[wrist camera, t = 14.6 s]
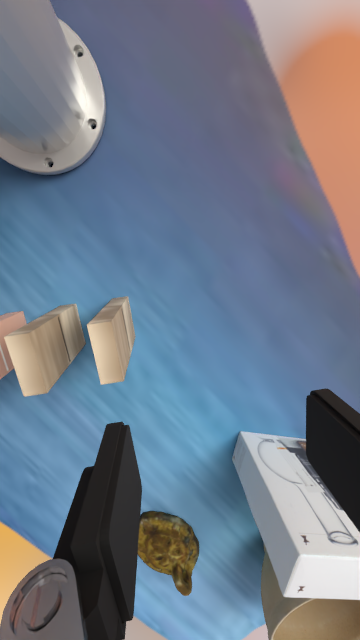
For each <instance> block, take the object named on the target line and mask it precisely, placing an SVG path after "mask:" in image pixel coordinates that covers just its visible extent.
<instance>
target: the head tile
mask: <svg viewBox="0 0 360 640" xmlns="http://www.w3.org/2000/svg"><path fill="white" fill-rule="evenodd" d="M87 328H88V332H89V336H90V340H91V344H92V349H93V353H94V357H95V361H96V365H97V370H98V374H99V378H100V382H101V385H102V384H109V383H115V382H121V381H124V378H125V374H126V371H127V367H128V363H129V359H130V355H131V351H132V348H133V344H134V340H135V332H134V327H133V321H132V316H131V310H130V305H129V300H128V296H127V297H120V298H113V299H111V301H110V302H109V303H108V304H107V305H106V306H105V307H104V308H103V309H102V310H101V311H100V312H99V313H98V314H97V315H96V316H95V317H94V318H93V319H92V320H91V321H90V322H89V323H88V324H87Z"/></svg>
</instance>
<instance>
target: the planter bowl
mask: <svg viewBox="0 0 360 640" xmlns="http://www.w3.org/2000/svg"><path fill="white" fill-rule="evenodd" d="M264 552H265V556H264V560H263V565H262V574H261V597H262V605H263V611H264V617H265V621H266V625H267V629H268V638H269V640H360V600H347V599H319V598H291V597H284V596H283V595H282V592H281V589H280V587H279V583H278V579H277V577H276V574H275V571H274V569H273V566H272V563H271V561H270V558H269V555H268V552H267V550H266V547H265V544H264Z"/></svg>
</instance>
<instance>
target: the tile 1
mask: <svg viewBox="0 0 360 640" xmlns="http://www.w3.org/2000/svg"><path fill="white" fill-rule="evenodd" d="M26 324H27V323H26V320H25V316H24V313H23V311H20V312H12V313H6V314H4V315H1V316H0V379H1V378H3V377H4V376H5V375H6V374H8V373H9V372H10V371H11V370H13V369H14V365H13V362H12V359H11V357H10V354H9V351H8V348H7V345H6V342H5V339H4V337H5V336H6V335H8V334H10V333H12V332H14V331H15V330H17V329H19V328H21V327H23V326H25V325H26Z"/></svg>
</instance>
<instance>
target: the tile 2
mask: <svg viewBox="0 0 360 640" xmlns="http://www.w3.org/2000/svg"><path fill="white" fill-rule="evenodd" d="M4 339H5V342H6V345H7V348H8V351H9V354H10V357H11V359H12V362H13V365H14V368H15V371H16V374H17V377H18V380H19V383H20V386H21V389H22V392H23V395H24V397H25V396H32V395H38V394H44V393H48V392H49V390H50V389H51V388H52V386H53V385H54V384H55V383H56V381H57V380H58V379H59V377H60V376H61V375H62V374H63V372H64V371H65V370H66V369H67V367H68V366H69V365H70V363H71V362H72V361H73V360H74V358H75V357H76V356H77V355H78V353H79V352H80V351H81V349H82V348H83V347H84V346H85V344H86V343H85V339H84V334H83V330H82V326H81V322H80V318H79V314H78V310H77V306H76V304H70V305H63V306H59V307H57V308H55V309H54V310H52V311H50V312H48V313H46V314H45V315H43V316H41V317H39V318H37V319H35V320H34V321H32V322H30V323H28V324H26V325H25V326H23V327H21V328H19V329H17V330H15V331H14V332H12V333H10V334H8V335H6V336H5V337H4Z"/></svg>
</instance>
